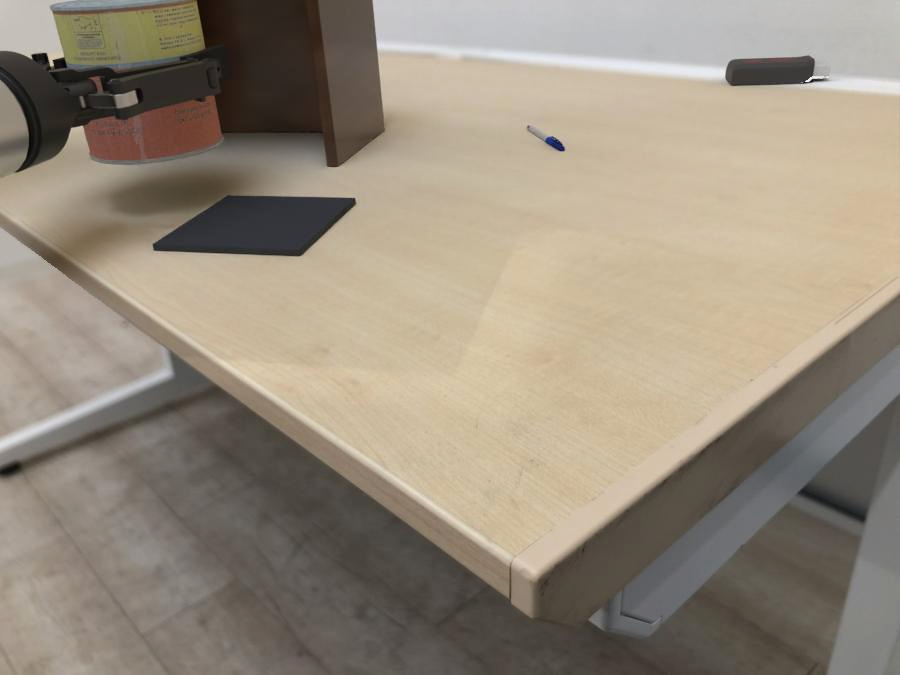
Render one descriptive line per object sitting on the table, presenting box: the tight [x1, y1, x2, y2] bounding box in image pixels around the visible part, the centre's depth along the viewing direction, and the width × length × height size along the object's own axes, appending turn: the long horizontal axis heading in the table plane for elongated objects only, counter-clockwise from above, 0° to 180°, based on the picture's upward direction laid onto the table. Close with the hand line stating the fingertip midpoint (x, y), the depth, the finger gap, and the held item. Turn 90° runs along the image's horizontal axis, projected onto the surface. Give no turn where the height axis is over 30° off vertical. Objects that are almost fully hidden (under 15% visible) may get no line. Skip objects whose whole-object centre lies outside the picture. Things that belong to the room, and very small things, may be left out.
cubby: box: [196, 0, 386, 167], centre depth 83 cm, size 24×15×22 cm, turn 76°
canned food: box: [49, 0, 224, 166], centre depth 68 cm, size 11×11×12 cm
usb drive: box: [724, 55, 832, 86], centre depth 103 cm, size 5×12×3 cm, turn 81°
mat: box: [151, 194, 357, 257], centre depth 64 cm, size 12×12×1 cm
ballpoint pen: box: [526, 125, 566, 152], centre depth 84 cm, size 10×1×1 cm, turn 15°
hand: (165, 62), depth 71 cm, fingers closed on canned food, 11 cm apart
